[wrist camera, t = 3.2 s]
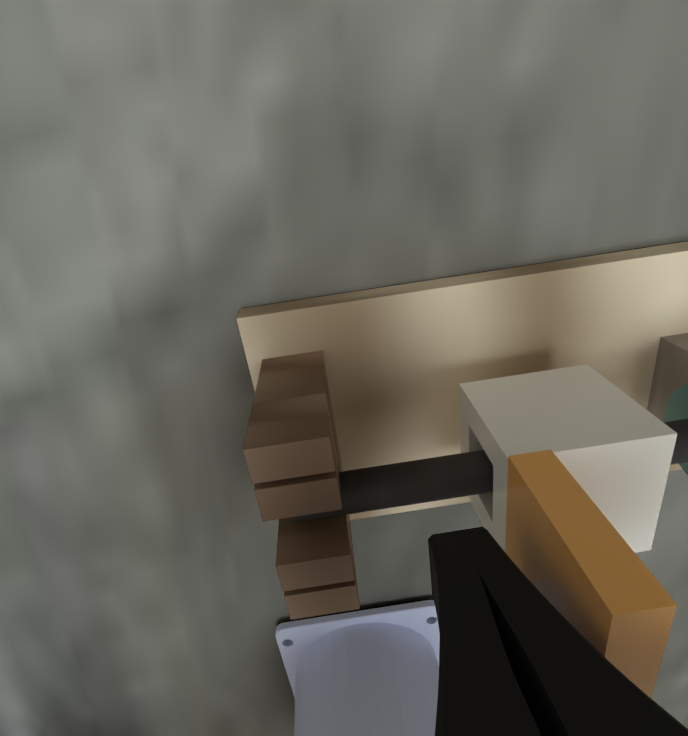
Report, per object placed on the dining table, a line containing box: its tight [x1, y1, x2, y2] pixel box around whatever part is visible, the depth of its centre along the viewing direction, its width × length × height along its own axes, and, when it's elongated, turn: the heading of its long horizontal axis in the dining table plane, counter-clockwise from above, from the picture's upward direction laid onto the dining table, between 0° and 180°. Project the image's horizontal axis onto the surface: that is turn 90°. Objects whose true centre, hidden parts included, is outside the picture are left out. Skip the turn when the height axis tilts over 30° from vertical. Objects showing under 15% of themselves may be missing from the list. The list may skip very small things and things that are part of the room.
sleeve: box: [459, 364, 678, 698], centre depth 11 cm, size 4×4×8 cm
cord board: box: [237, 241, 688, 620], centre depth 14 cm, size 18×9×6 cm, turn 97°
